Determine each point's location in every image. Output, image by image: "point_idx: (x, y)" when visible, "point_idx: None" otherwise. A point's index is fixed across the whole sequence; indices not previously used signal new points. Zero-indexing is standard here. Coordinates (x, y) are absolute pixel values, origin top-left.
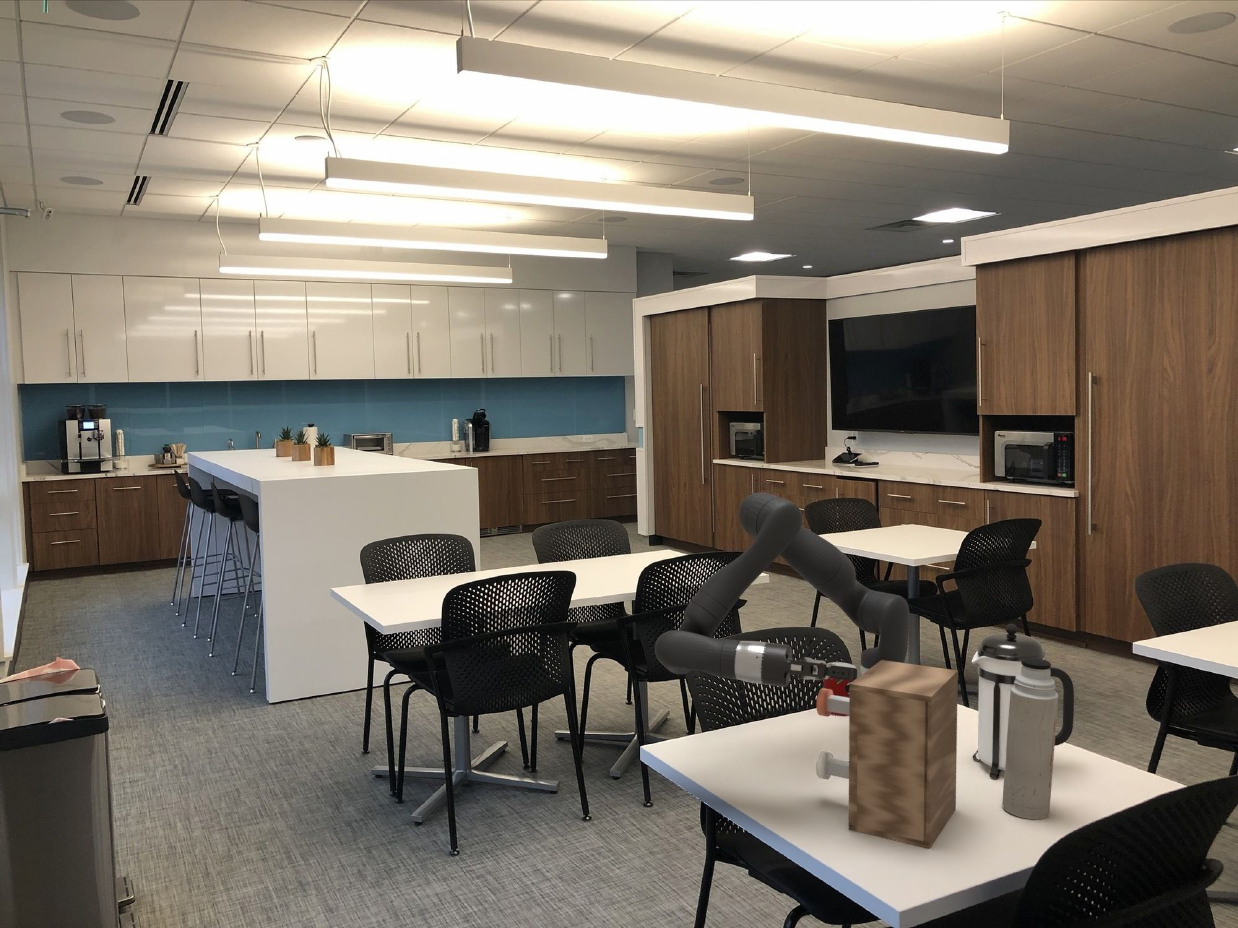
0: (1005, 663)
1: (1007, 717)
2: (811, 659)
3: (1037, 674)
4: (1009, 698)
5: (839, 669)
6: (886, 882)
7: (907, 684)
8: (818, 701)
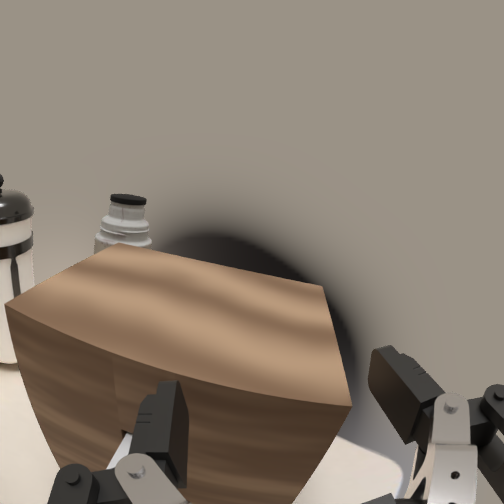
0: (19, 225)
1: None
2: (475, 479)
3: (144, 211)
4: (25, 271)
5: (425, 375)
6: (368, 488)
7: (259, 302)
8: None
